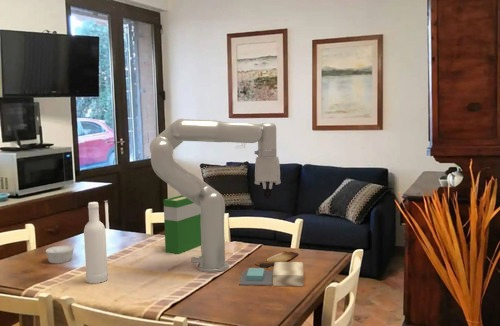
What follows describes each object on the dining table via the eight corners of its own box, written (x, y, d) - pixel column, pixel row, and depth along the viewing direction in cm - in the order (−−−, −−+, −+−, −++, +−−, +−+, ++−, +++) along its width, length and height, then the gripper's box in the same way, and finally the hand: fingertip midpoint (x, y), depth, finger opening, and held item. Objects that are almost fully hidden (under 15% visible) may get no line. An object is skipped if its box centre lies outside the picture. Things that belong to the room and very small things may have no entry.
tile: (262, 275, 197) (262, 280, 197) (264, 268, 206) (264, 273, 206) (246, 275, 197) (246, 280, 198) (248, 268, 206) (249, 273, 206)
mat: (238, 285, 194) (238, 284, 194) (243, 271, 210) (243, 270, 210) (271, 285, 193) (271, 284, 193) (273, 271, 209) (273, 270, 209)
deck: (272, 285, 193) (272, 275, 193) (274, 271, 209) (274, 261, 208) (303, 286, 192) (303, 275, 192) (302, 272, 208) (302, 262, 208)
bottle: (85, 278, 205) (81, 201, 201) (106, 275, 208) (102, 200, 204) (87, 285, 197) (83, 205, 194) (109, 281, 200) (105, 203, 197)
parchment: (284, 251, 238) (284, 249, 238) (303, 254, 232) (303, 252, 232) (252, 266, 218) (252, 264, 218) (272, 270, 212) (272, 268, 212)
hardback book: (189, 243, 254) (187, 193, 252) (202, 245, 251) (200, 194, 248) (165, 252, 239) (163, 199, 237) (178, 254, 235) (176, 201, 233)
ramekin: (40, 263, 226) (39, 251, 226) (59, 256, 237) (58, 244, 236) (61, 265, 222) (60, 253, 222) (79, 258, 233) (78, 246, 232)
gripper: (248, 154, 213) (248, 199, 215) (285, 154, 212) (285, 199, 214) (249, 153, 221) (250, 196, 223) (285, 152, 220) (286, 196, 222)
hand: (267, 198), depth 219 cm, fingers closed
